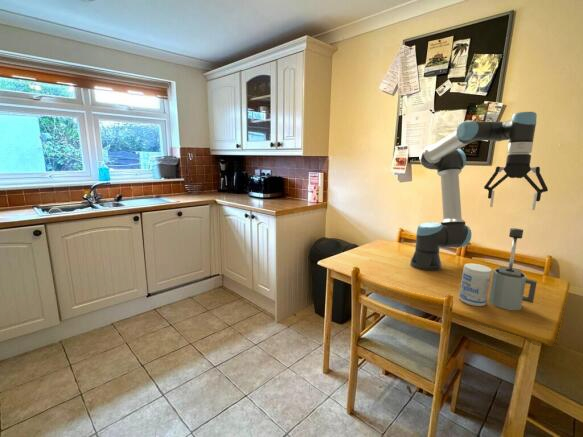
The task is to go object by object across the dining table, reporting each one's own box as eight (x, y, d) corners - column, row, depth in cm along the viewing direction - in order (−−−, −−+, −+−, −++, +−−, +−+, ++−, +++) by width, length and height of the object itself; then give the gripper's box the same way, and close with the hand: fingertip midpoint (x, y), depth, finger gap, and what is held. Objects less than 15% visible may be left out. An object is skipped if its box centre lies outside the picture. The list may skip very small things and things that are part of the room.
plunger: (496, 280, 116) (504, 229, 112) (497, 274, 122) (505, 226, 118) (520, 285, 111) (529, 232, 107) (520, 279, 117) (529, 229, 113)
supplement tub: (456, 301, 120) (461, 267, 117) (461, 294, 127) (465, 261, 124) (484, 309, 113) (490, 273, 111) (488, 301, 121) (493, 266, 118)
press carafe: (487, 304, 117) (493, 271, 115) (490, 295, 126) (494, 264, 123) (531, 315, 109) (538, 280, 107) (531, 305, 117) (537, 271, 115)
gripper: (480, 154, 119) (474, 206, 123) (563, 153, 105) (553, 212, 109) (482, 154, 125) (476, 204, 129) (560, 153, 111) (551, 209, 115)
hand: (511, 208), depth 119 cm, fingers open, 13 cm apart
